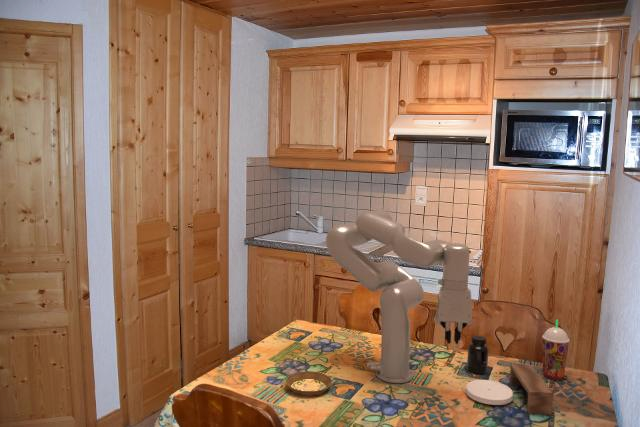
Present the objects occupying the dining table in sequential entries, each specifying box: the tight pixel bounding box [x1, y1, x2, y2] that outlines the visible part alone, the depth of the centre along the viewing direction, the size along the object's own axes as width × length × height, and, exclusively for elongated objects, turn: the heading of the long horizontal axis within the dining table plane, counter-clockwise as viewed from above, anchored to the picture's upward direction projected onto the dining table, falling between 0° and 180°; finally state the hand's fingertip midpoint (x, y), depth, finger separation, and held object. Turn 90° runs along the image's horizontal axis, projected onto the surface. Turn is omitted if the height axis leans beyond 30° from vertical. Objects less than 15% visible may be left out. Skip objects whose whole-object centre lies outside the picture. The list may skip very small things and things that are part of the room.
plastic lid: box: [465, 379, 514, 406], centre depth 164 cm, size 14×14×2 cm
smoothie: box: [542, 319, 570, 381], centre depth 177 cm, size 8×8×20 cm
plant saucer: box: [285, 371, 333, 396], centre depth 168 cm, size 15×15×3 cm
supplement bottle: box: [466, 335, 489, 375], centre depth 182 cm, size 7×7×12 cm
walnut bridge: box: [508, 363, 554, 416], centre depth 162 cm, size 6×20×7 cm, turn 176°
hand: (452, 341), depth 162 cm, fingers closed
